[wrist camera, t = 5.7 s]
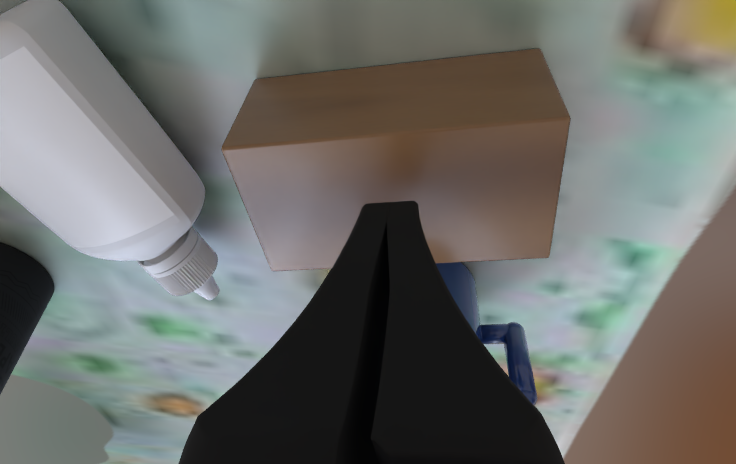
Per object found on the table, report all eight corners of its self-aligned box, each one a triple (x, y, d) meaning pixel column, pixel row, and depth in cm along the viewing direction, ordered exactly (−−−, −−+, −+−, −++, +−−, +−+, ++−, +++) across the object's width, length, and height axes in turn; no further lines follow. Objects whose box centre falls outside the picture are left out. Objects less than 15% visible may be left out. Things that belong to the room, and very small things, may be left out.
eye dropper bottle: (-162, 111, 12) (157, 365, 20) (41, -4, 12) (279, 288, 20) (-96, 67, 15) (154, 297, 23) (62, -23, 16) (258, 233, 23)
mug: (507, 251, 24) (524, 463, 23) (368, 259, 25) (378, 463, 24) (543, 230, 15) (575, 583, 14) (322, 244, 16) (334, 572, 15)
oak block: (528, 179, 18) (550, 258, 15) (292, 196, 20) (271, 272, 17) (541, 46, 15) (571, 116, 12) (254, 78, 16) (219, 148, 13)
